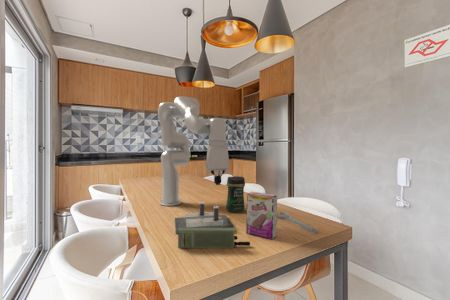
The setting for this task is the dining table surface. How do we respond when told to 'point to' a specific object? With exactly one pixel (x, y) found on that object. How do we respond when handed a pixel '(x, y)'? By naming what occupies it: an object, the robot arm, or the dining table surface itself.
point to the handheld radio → (208, 238)
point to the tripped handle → (201, 208)
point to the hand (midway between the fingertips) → (217, 184)
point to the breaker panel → (202, 221)
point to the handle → (216, 213)
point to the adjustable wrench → (297, 222)
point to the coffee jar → (235, 194)
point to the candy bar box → (261, 214)
